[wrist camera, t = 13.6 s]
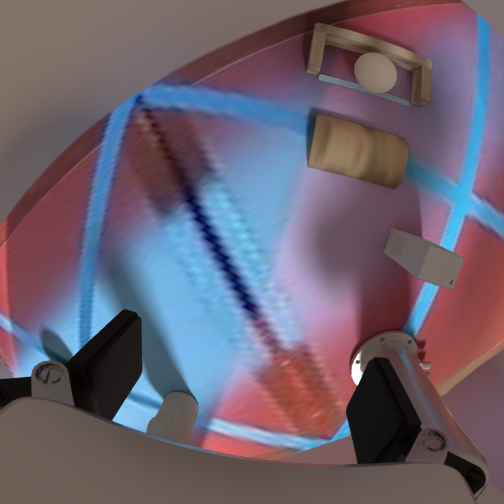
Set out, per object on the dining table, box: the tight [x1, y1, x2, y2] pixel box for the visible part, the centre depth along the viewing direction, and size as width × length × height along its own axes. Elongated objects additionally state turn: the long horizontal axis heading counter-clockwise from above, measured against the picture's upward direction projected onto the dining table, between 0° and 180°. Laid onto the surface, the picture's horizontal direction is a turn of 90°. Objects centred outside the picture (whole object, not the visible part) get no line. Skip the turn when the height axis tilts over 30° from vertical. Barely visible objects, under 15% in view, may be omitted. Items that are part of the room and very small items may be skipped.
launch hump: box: [308, 114, 408, 189], centre depth 37 cm, size 13×8×8 cm, turn 80°
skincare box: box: [383, 227, 464, 290], centre depth 33 cm, size 6×4×12 cm
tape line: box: [319, 74, 410, 107], centre depth 34 cm, size 14×1×1 cm, turn 80°
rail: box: [307, 22, 432, 107], centre depth 31 cm, size 18×7×4 cm, turn 80°
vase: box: [146, 391, 198, 446], centre depth 35 cm, size 9×8×30 cm
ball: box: [354, 52, 397, 93], centre depth 30 cm, size 6×6×6 cm
